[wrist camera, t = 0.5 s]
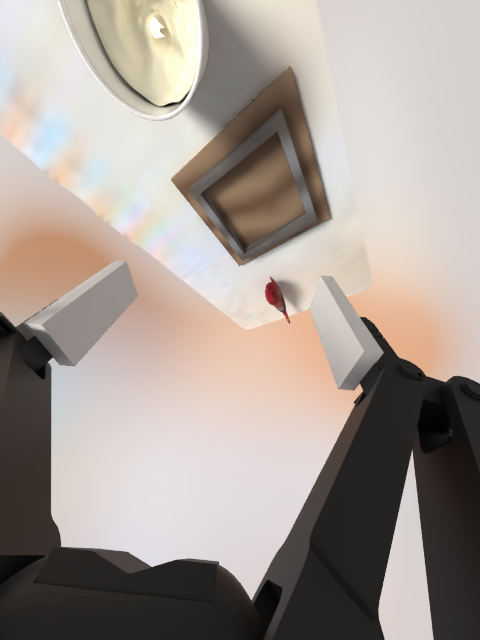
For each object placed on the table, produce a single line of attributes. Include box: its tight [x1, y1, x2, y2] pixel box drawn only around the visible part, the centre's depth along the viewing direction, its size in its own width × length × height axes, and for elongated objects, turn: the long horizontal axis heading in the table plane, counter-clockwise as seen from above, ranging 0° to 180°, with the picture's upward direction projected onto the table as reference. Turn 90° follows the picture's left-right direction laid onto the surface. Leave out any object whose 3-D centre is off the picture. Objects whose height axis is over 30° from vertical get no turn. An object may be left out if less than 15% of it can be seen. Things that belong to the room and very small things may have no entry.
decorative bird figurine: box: [265, 277, 290, 323], centre depth 48 cm, size 3×18×10 cm, turn 29°
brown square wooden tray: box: [171, 67, 330, 266], centre depth 32 cm, size 20×20×4 cm
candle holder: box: [58, 0, 209, 121], centre depth 17 cm, size 10×10×12 cm
